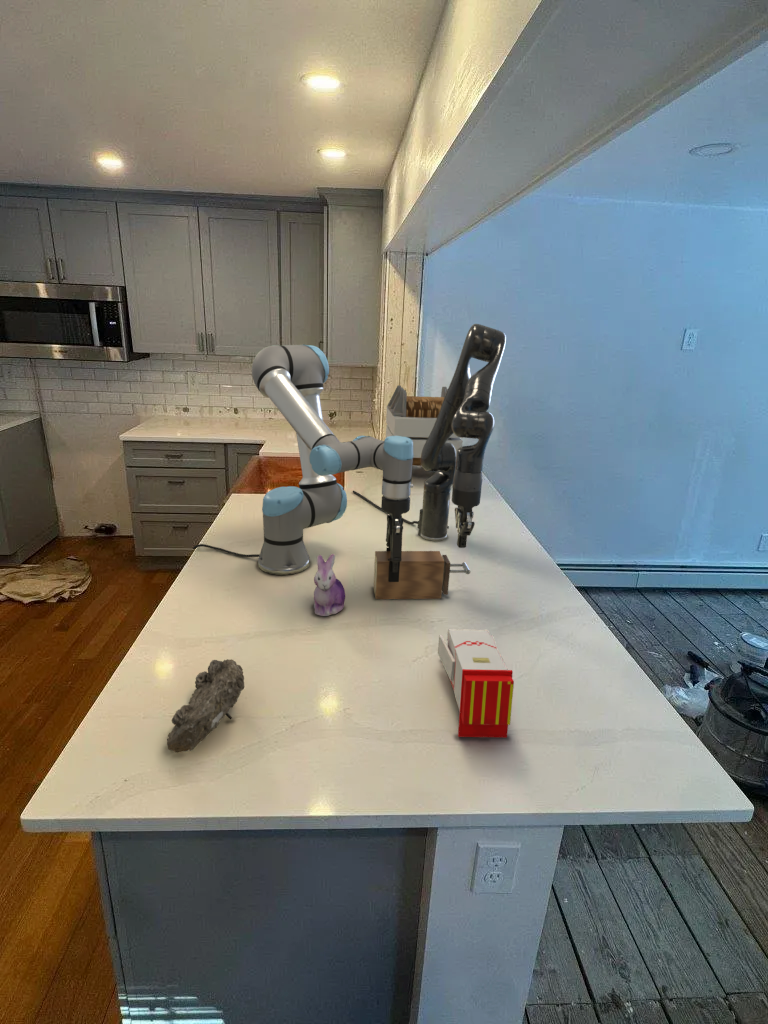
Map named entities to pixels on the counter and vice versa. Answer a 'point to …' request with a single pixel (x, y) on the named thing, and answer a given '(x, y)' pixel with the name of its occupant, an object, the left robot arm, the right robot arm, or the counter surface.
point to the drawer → (448, 571)
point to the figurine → (327, 589)
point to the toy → (478, 682)
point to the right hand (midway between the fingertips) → (461, 546)
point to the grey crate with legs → (415, 419)
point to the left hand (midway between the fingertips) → (392, 575)
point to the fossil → (206, 705)
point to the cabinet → (410, 575)
